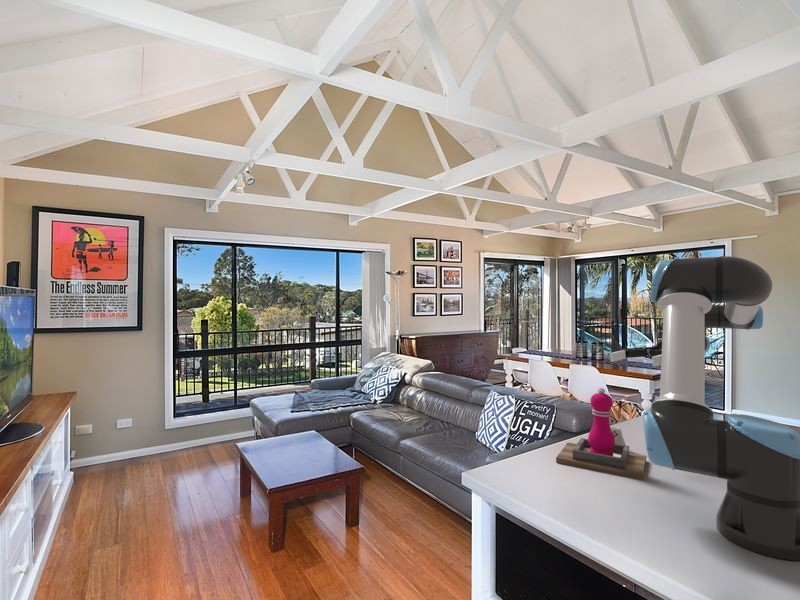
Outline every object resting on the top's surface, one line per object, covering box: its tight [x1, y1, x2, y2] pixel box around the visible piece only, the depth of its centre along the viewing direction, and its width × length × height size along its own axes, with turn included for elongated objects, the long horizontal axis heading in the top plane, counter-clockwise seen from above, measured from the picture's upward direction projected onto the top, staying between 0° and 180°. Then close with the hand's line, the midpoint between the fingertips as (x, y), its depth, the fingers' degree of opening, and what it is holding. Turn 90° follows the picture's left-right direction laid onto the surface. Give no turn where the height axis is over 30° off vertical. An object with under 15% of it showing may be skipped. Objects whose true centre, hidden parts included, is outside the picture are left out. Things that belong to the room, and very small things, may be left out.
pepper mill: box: [587, 387, 615, 456], centre depth 125 cm, size 7×7×20 cm
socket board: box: [555, 437, 647, 481], centre depth 125 cm, size 16×22×4 cm
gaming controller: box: [610, 426, 626, 445], centre depth 138 cm, size 10×4×7 cm, turn 33°
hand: (631, 359), depth 128 cm, fingers open, 13 cm apart
